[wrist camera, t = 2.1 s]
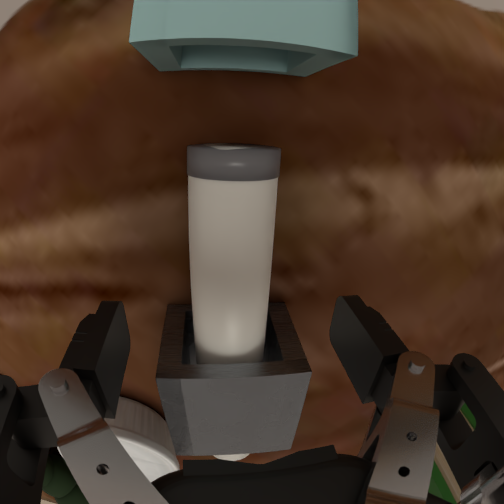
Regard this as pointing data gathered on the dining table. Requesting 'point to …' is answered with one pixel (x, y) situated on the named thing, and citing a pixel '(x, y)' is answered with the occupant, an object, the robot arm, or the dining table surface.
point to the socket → (245, 34)
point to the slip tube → (231, 249)
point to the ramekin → (144, 438)
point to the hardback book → (447, 469)
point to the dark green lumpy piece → (61, 482)
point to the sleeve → (231, 390)
